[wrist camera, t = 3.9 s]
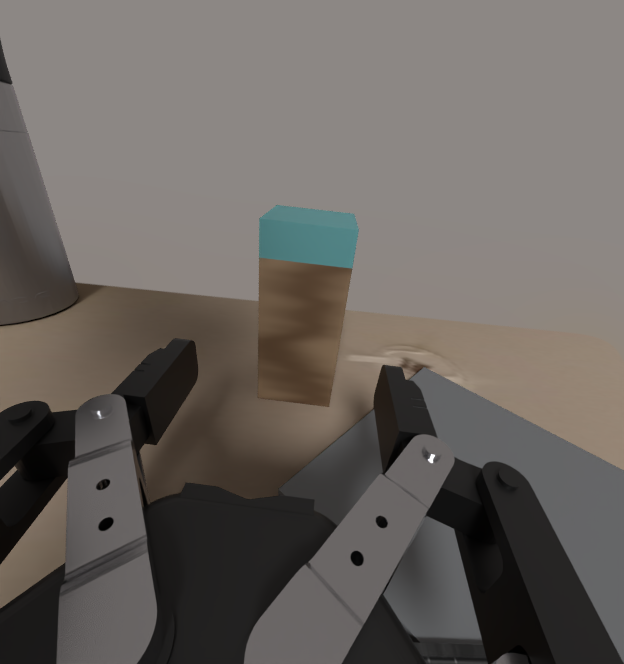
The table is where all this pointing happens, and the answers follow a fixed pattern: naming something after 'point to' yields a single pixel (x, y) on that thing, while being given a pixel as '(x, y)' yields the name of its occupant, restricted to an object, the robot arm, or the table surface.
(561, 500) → the grey mat
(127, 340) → the table surface
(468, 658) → the phone
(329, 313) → the walnut block
